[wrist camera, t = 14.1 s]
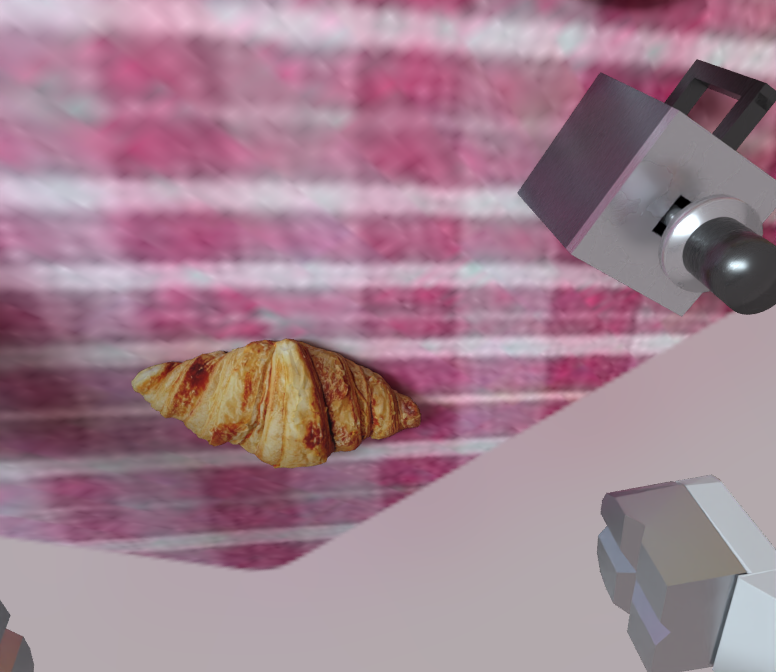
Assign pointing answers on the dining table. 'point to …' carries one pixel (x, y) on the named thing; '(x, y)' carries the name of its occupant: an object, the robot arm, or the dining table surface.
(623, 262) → the matte gray cube
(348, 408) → the croissant
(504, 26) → the dining table surface
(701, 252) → the plunger
